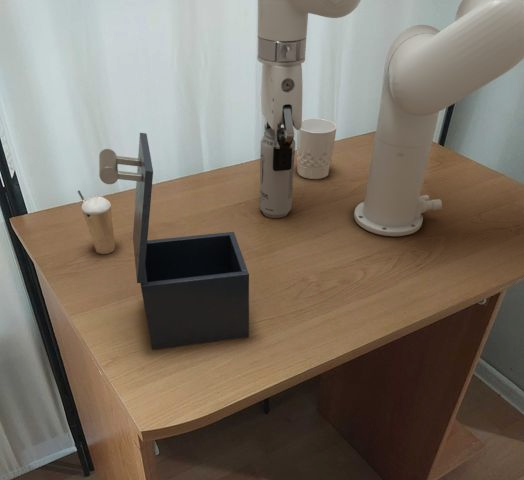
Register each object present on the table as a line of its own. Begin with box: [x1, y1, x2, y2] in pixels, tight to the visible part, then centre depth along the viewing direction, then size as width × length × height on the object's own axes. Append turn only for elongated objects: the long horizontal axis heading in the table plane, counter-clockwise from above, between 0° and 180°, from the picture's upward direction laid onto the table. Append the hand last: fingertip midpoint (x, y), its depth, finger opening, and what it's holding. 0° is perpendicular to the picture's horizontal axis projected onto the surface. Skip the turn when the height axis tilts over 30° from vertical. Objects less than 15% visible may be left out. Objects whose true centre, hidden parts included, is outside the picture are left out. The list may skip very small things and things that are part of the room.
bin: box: [140, 231, 250, 351], centre depth 74 cm, size 14×11×11 cm
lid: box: [98, 132, 154, 284], centre depth 64 cm, size 14×11×5 cm
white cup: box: [296, 117, 338, 180], centre depth 111 cm, size 8×8×10 cm
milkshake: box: [77, 190, 116, 255], centre depth 88 cm, size 5×5×10 cm
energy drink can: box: [259, 126, 296, 219], centre depth 97 cm, size 6×6×15 cm
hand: (277, 160), depth 95 cm, fingers closed on energy drink can, 6 cm apart
